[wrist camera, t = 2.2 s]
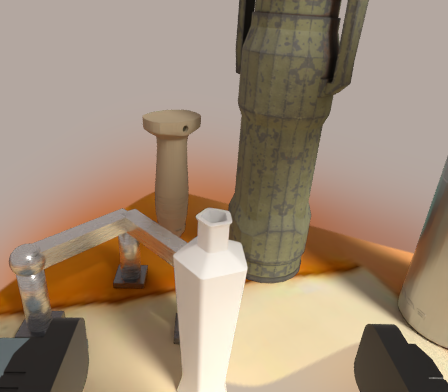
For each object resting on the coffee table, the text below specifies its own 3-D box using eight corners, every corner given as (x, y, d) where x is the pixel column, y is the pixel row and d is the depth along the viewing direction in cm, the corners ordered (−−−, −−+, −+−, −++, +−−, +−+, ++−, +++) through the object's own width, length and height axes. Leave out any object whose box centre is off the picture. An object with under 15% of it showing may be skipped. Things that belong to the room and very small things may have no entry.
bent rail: (207, 271, 42) (211, 202, 38) (209, 343, 33) (214, 263, 29) (57, 267, 41) (46, 196, 37) (15, 342, 32) (-5, 257, 28)
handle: (139, 233, 48) (134, 114, 41) (180, 218, 52) (182, 107, 45) (160, 251, 44) (159, 125, 38) (203, 233, 49) (209, 117, 42)
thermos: (292, 302, 38) (378, -153, 23) (200, 256, 44) (217, -129, 29) (325, 261, 45) (410, -112, 29) (241, 227, 51) (274, -100, 35)
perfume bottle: (163, 410, 27) (163, 230, 20) (182, 361, 31) (187, 196, 24) (226, 426, 26) (247, 245, 20) (238, 374, 30) (258, 207, 24)
